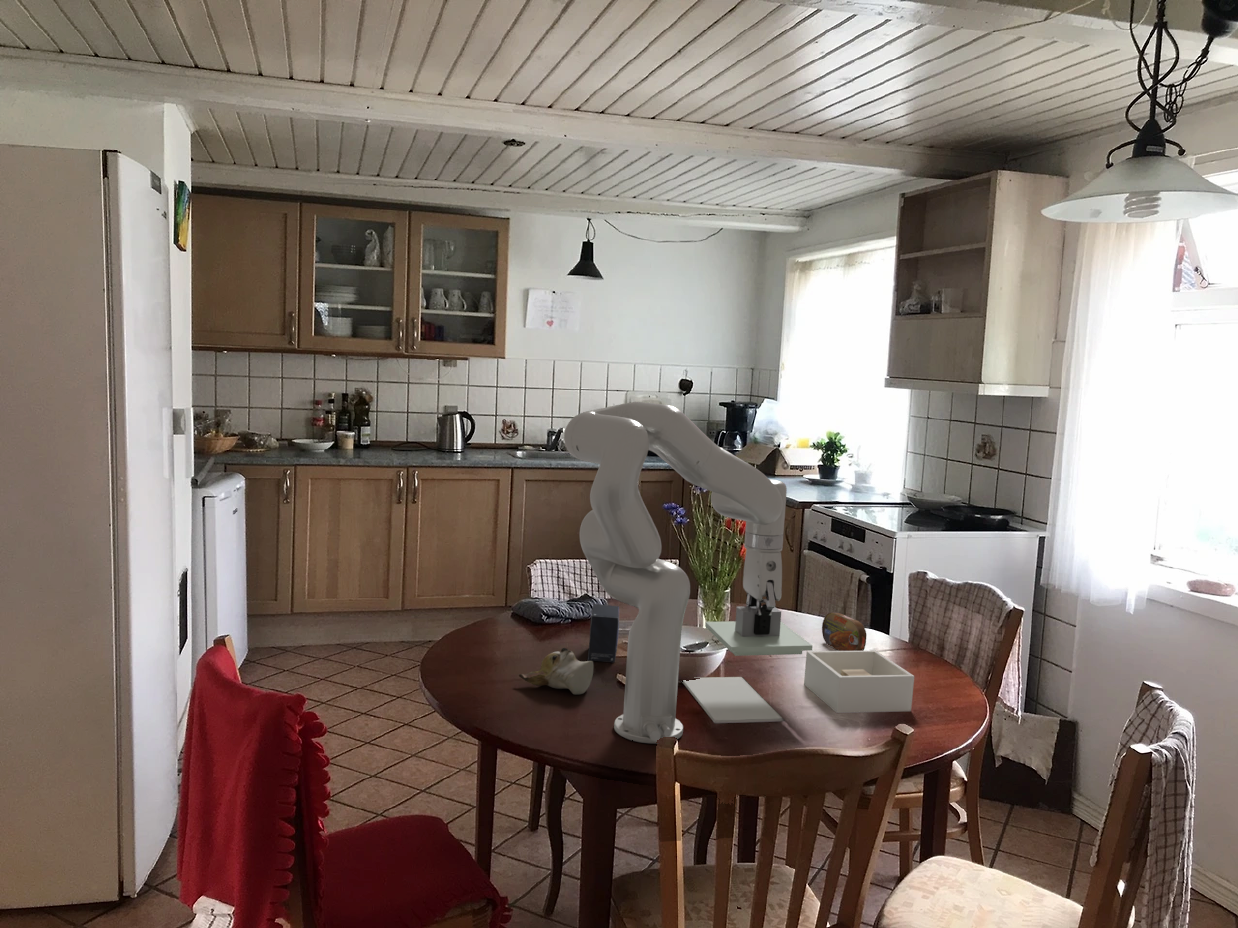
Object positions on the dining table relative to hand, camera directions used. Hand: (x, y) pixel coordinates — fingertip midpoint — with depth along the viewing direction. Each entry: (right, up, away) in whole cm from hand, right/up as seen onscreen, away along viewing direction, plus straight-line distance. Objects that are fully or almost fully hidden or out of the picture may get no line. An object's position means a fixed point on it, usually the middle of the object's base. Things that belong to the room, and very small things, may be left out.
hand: (757, 629), depth 188 cm
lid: (0, -3, 0) cm, 3 cm away
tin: (+27, -12, +39) cm, 49 cm away
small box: (-32, -10, +24) cm, 41 cm away
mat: (-1, -14, +1) cm, 15 cm away
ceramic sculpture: (-40, -12, +2) cm, 42 cm away
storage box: (+21, -15, +4) cm, 26 cm away
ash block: (+21, -15, +4) cm, 26 cm away
